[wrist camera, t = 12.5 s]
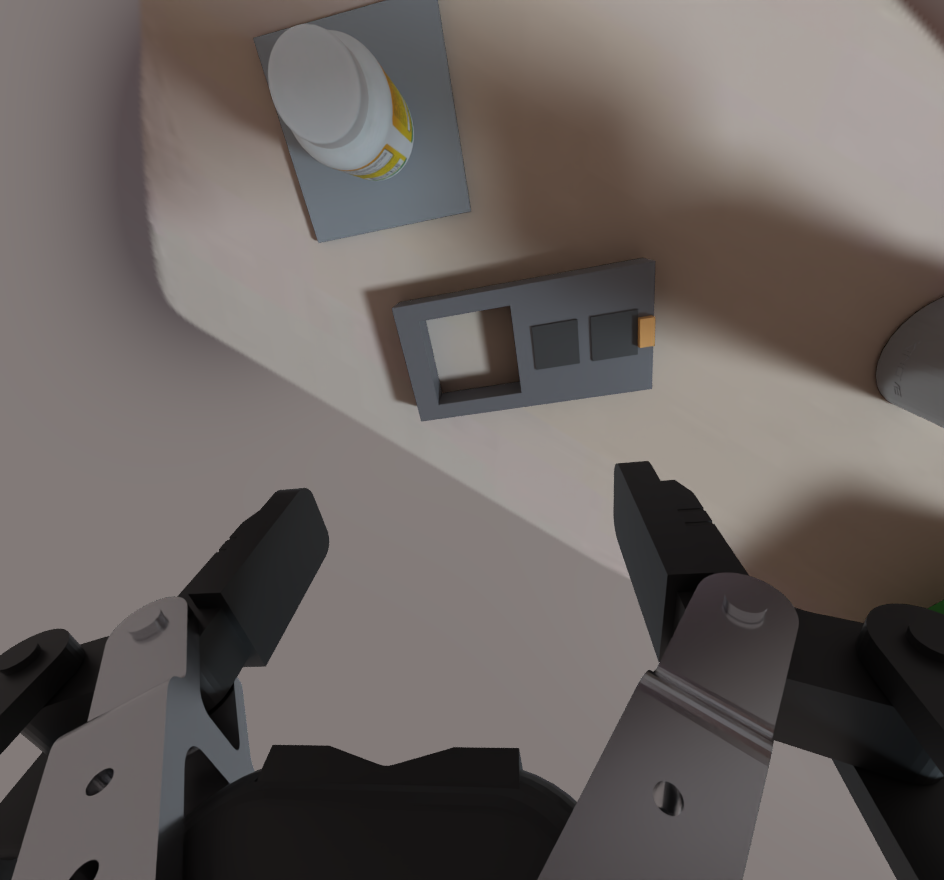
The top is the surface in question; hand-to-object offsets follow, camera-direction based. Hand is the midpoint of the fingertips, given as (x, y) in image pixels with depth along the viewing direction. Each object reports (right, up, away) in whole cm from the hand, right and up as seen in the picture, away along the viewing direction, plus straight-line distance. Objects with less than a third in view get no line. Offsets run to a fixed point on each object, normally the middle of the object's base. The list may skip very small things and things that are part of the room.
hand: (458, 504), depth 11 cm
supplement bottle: (-6, +21, +15) cm, 27 cm away
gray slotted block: (+4, +10, +21) cm, 24 cm away
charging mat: (-6, +22, +16) cm, 27 cm away
